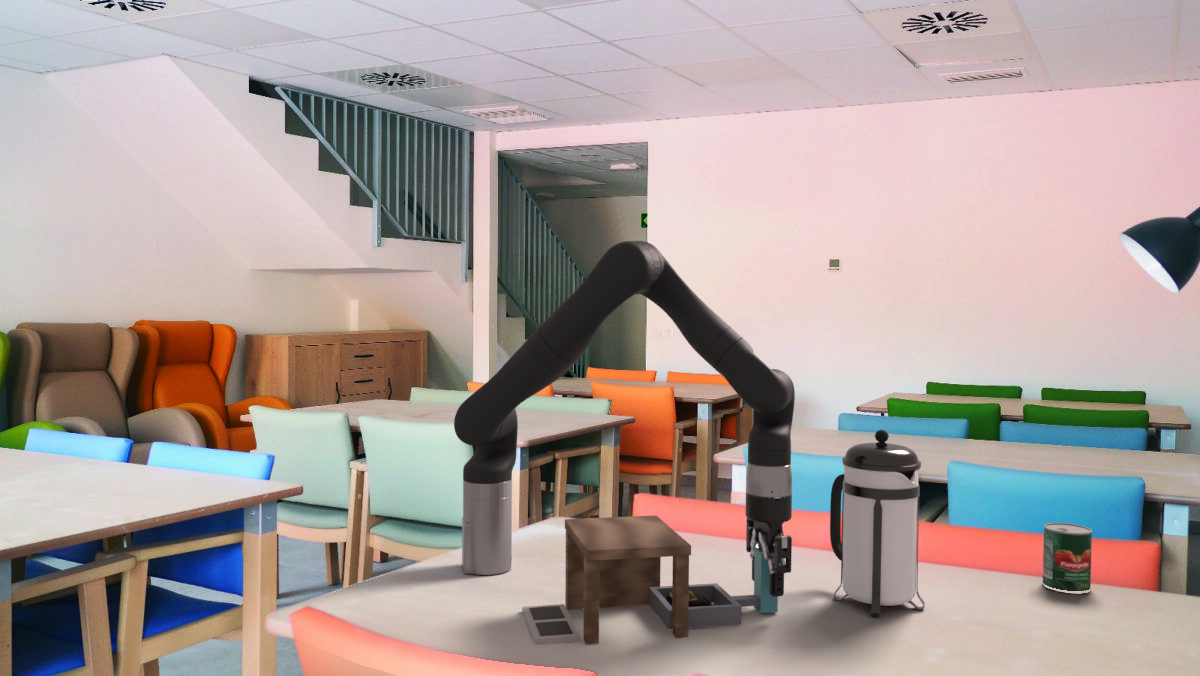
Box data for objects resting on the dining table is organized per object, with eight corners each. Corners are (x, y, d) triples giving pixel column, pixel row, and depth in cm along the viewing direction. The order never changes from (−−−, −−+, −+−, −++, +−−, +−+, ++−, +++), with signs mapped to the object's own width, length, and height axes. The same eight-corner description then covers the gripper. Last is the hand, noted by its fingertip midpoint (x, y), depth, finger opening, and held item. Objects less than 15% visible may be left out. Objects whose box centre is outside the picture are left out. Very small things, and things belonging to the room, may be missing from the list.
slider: (668, 629, 146) (669, 566, 146) (648, 604, 158) (649, 546, 158) (788, 621, 150) (789, 559, 150) (760, 597, 162) (761, 540, 162)
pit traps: (534, 644, 140) (534, 638, 140) (522, 611, 155) (522, 606, 155) (580, 641, 142) (580, 635, 142) (563, 608, 156) (564, 603, 156)
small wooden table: (587, 646, 139) (587, 550, 139) (564, 603, 159) (564, 519, 158) (690, 639, 143) (691, 545, 142) (655, 598, 162) (656, 515, 162)
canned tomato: (1062, 579, 175) (1063, 520, 175) (1100, 591, 168) (1102, 530, 168) (1032, 584, 172) (1033, 525, 171) (1070, 597, 165) (1072, 535, 164)
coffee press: (929, 596, 165) (933, 426, 163) (919, 624, 150) (923, 438, 149) (829, 582, 172) (832, 420, 171) (810, 608, 157) (813, 431, 156)
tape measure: (714, 622, 151) (714, 599, 151) (674, 626, 149) (674, 603, 149) (698, 608, 158) (698, 586, 157) (659, 612, 156) (660, 590, 155)
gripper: (732, 482, 161) (731, 577, 162) (763, 500, 147) (762, 603, 148) (773, 481, 163) (771, 574, 164) (808, 498, 149) (806, 600, 150)
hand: (767, 588), depth 156 cm, fingers open, 7 cm apart
